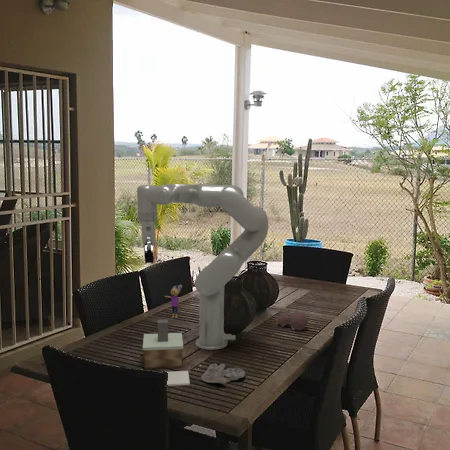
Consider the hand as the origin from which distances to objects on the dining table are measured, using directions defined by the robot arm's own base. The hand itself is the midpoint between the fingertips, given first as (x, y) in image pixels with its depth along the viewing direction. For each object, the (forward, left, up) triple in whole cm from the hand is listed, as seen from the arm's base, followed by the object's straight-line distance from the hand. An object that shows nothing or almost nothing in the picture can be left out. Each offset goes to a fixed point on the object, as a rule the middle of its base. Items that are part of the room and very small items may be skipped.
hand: (148, 260), depth 208 cm
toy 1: (-11, -30, -33) cm, 46 cm away
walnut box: (-5, +22, -33) cm, 40 cm away
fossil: (-25, +38, -34) cm, 56 cm away
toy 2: (-61, -10, -33) cm, 70 cm away
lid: (-5, +22, -26) cm, 34 cm away
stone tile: (-9, +38, -33) cm, 51 cm away
